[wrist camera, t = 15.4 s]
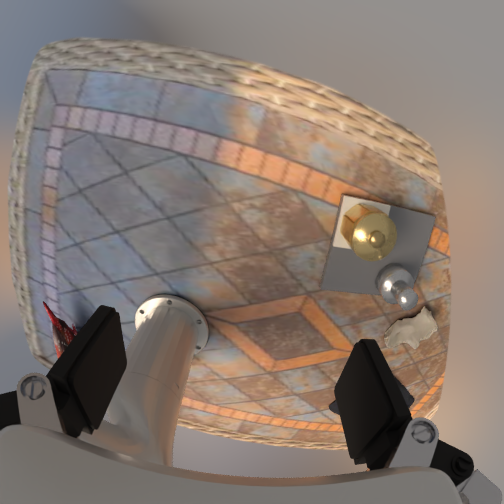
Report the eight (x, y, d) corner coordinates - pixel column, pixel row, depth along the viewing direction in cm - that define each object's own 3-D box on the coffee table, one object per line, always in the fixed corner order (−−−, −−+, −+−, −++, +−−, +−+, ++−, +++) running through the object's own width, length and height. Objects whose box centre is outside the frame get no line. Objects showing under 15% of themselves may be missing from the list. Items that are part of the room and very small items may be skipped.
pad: (376, 251, 38) (378, 253, 37) (332, 244, 37) (333, 246, 37) (388, 205, 35) (390, 206, 35) (343, 195, 35) (345, 196, 34)
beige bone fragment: (378, 329, 44) (386, 345, 40) (425, 298, 42) (437, 312, 38) (386, 347, 46) (394, 362, 42) (431, 319, 44) (442, 332, 40)
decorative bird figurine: (82, 356, 48) (62, 387, 39) (55, 283, 42) (25, 311, 33) (92, 358, 48) (72, 391, 39) (66, 284, 42) (36, 314, 33)
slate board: (406, 294, 42) (408, 297, 41) (319, 286, 41) (320, 289, 40) (432, 215, 36) (435, 217, 35) (341, 193, 36) (343, 195, 35)
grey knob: (398, 295, 40) (416, 318, 34) (370, 292, 40) (387, 317, 34) (409, 265, 38) (431, 285, 32) (381, 260, 38) (401, 282, 32)
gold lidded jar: (385, 208, 35) (405, 220, 29) (375, 249, 37) (392, 266, 32) (345, 200, 34) (361, 211, 29) (336, 244, 37) (349, 261, 31)
